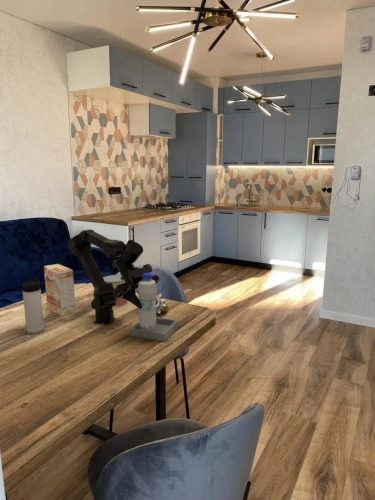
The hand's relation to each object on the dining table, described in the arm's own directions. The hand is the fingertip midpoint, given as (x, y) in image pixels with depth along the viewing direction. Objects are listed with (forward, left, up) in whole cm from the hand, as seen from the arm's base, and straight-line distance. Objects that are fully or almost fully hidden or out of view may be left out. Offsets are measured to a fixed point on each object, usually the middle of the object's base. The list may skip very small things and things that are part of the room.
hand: (148, 305), depth 135 cm
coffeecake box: (-50, +16, -13) cm, 54 cm away
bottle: (0, 0, -8) cm, 8 cm away
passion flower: (-10, +26, -13) cm, 31 cm away
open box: (-1, +8, -13) cm, 15 cm away
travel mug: (-45, -6, -13) cm, 47 cm away
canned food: (-32, +32, -13) cm, 47 cm away
